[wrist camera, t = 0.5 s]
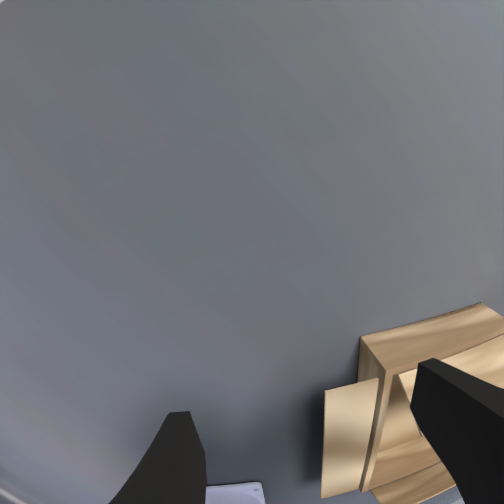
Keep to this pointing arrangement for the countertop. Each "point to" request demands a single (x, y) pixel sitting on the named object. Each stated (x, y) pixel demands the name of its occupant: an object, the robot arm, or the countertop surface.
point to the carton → (391, 401)
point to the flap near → (469, 366)
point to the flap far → (416, 487)
